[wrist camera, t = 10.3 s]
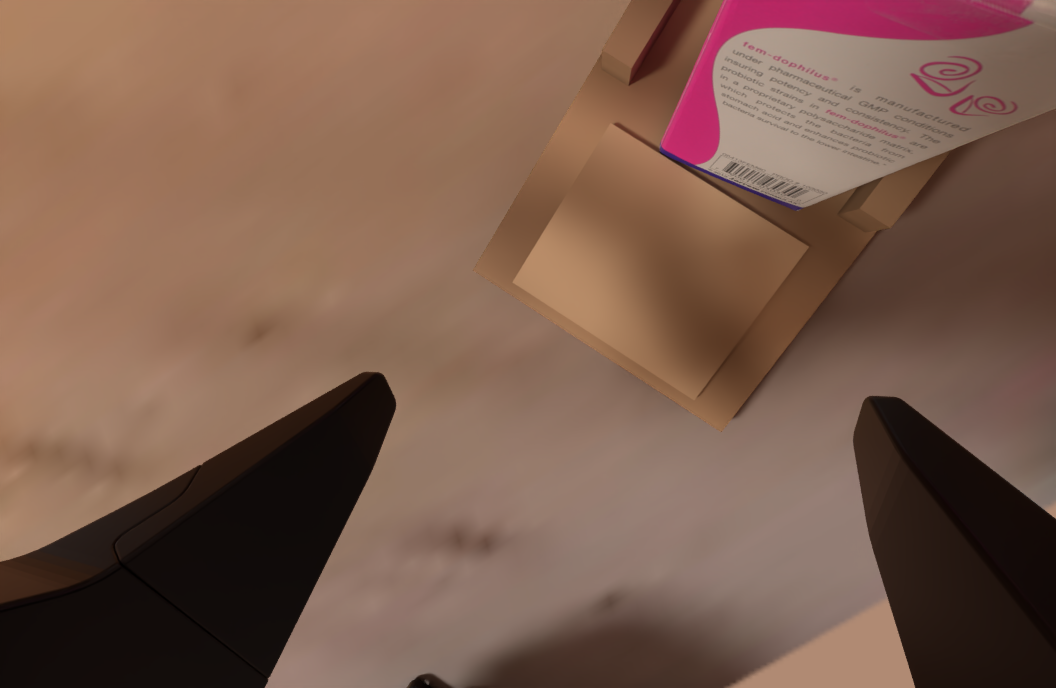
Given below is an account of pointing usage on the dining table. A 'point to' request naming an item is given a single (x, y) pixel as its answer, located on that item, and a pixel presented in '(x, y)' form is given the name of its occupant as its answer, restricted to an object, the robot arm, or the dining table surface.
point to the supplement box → (856, 88)
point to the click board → (673, 230)
